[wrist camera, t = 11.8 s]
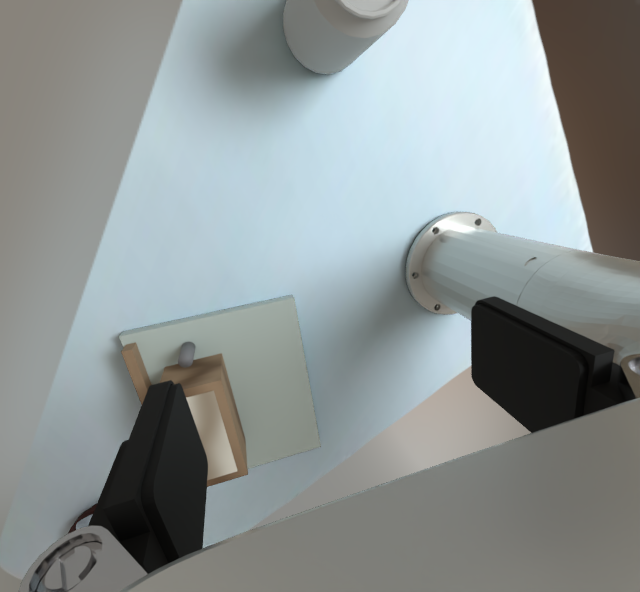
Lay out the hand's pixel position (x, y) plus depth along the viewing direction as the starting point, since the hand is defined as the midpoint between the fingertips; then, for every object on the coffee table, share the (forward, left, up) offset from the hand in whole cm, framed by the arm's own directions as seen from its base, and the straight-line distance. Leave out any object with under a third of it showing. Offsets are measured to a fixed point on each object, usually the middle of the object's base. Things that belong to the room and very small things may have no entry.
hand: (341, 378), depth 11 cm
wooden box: (+10, +18, -27) cm, 34 cm away
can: (-9, -17, -28) cm, 35 cm away
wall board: (+7, +18, -28) cm, 34 cm away
